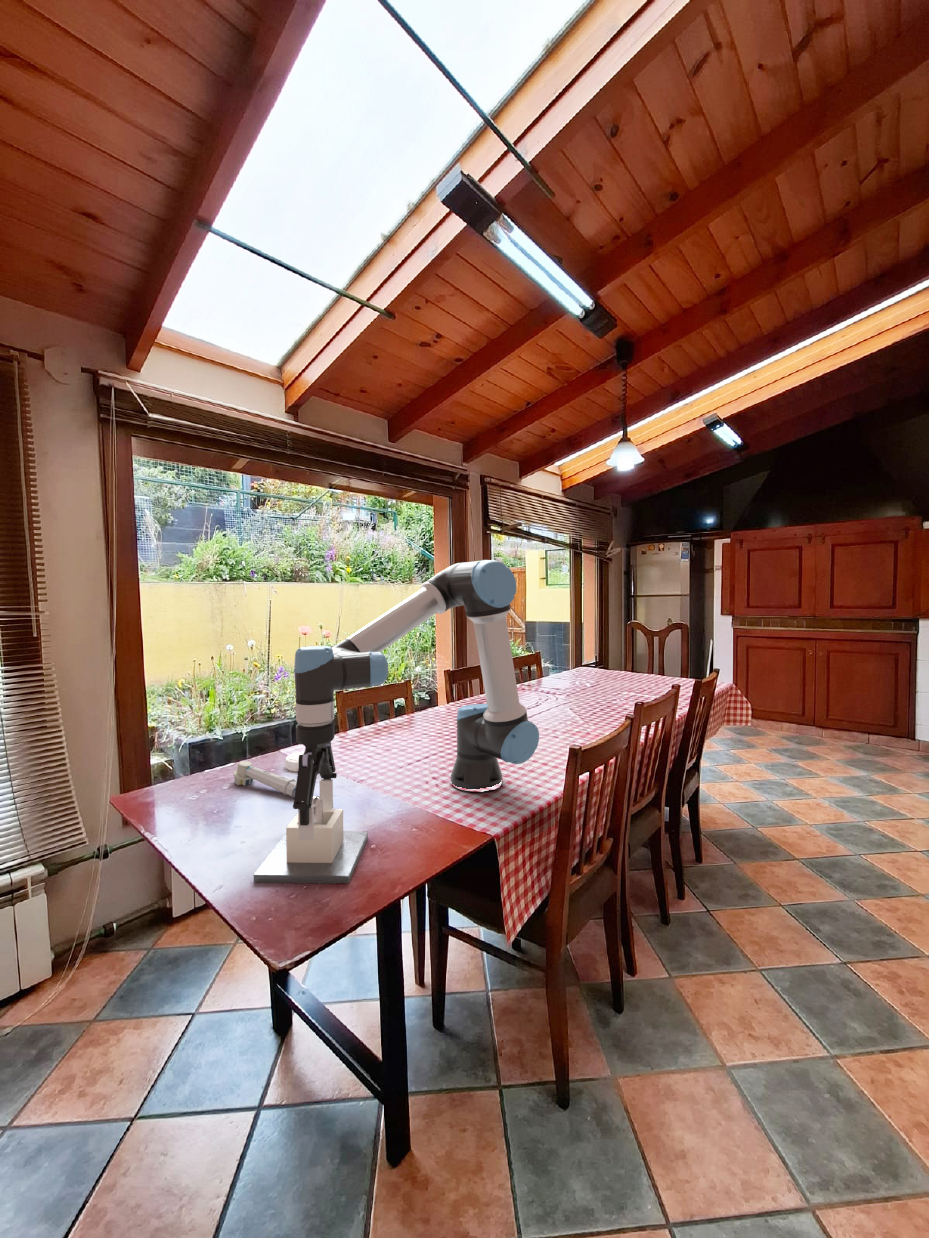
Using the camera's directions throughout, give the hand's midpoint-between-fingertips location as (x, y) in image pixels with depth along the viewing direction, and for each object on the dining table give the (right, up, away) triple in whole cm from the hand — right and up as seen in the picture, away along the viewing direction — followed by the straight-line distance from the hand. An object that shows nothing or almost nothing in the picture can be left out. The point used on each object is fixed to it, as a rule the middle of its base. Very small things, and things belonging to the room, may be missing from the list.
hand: (317, 823), depth 103 cm
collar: (0, -6, 0) cm, 6 cm away
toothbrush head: (-25, -6, +37) cm, 45 cm away
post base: (0, -7, 0) cm, 7 cm away
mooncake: (-21, -5, +57) cm, 61 cm away
